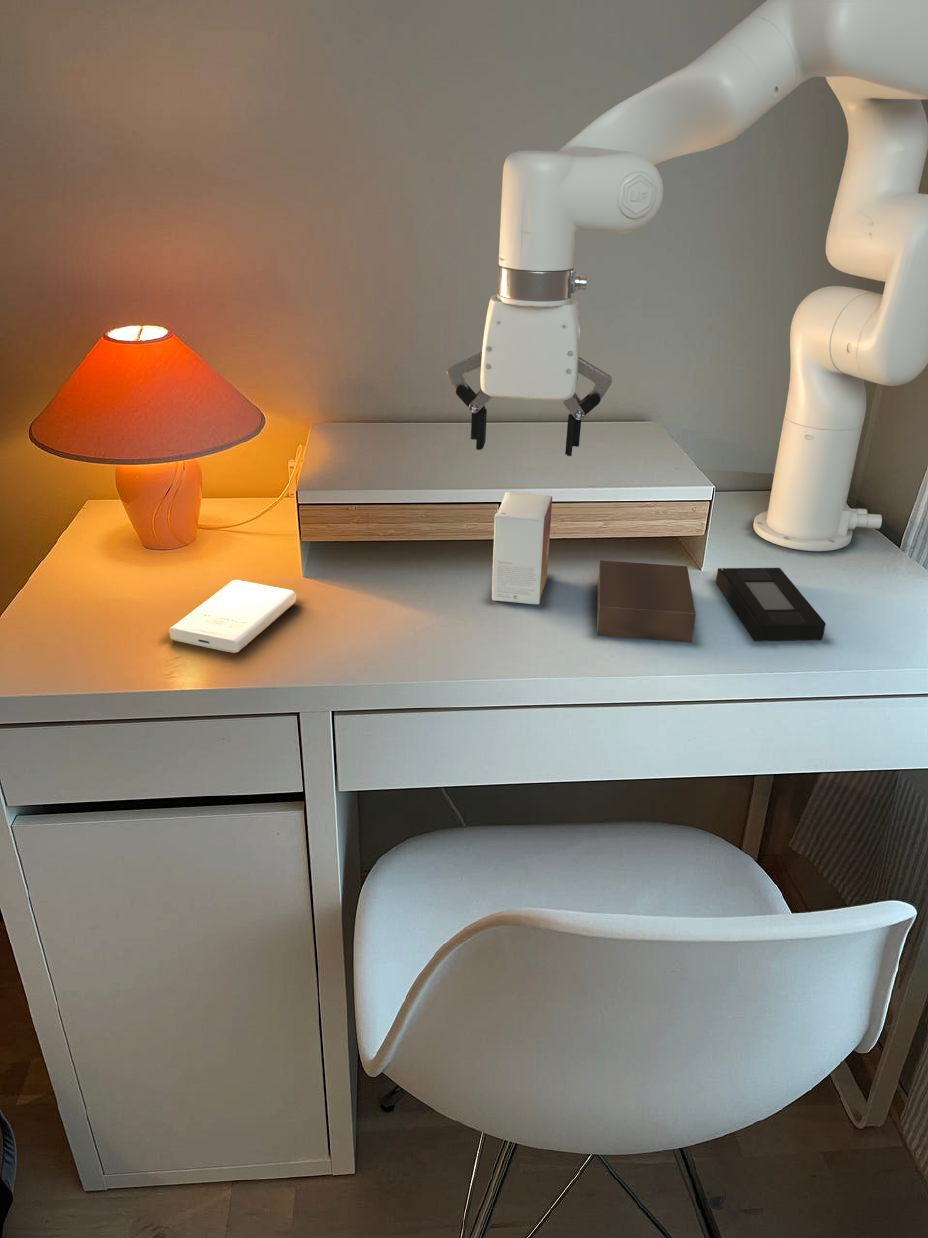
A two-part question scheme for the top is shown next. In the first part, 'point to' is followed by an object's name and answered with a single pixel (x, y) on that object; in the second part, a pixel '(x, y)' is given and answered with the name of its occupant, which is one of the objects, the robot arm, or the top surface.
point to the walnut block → (645, 601)
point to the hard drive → (233, 616)
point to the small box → (521, 547)
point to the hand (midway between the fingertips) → (524, 449)
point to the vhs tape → (769, 604)
